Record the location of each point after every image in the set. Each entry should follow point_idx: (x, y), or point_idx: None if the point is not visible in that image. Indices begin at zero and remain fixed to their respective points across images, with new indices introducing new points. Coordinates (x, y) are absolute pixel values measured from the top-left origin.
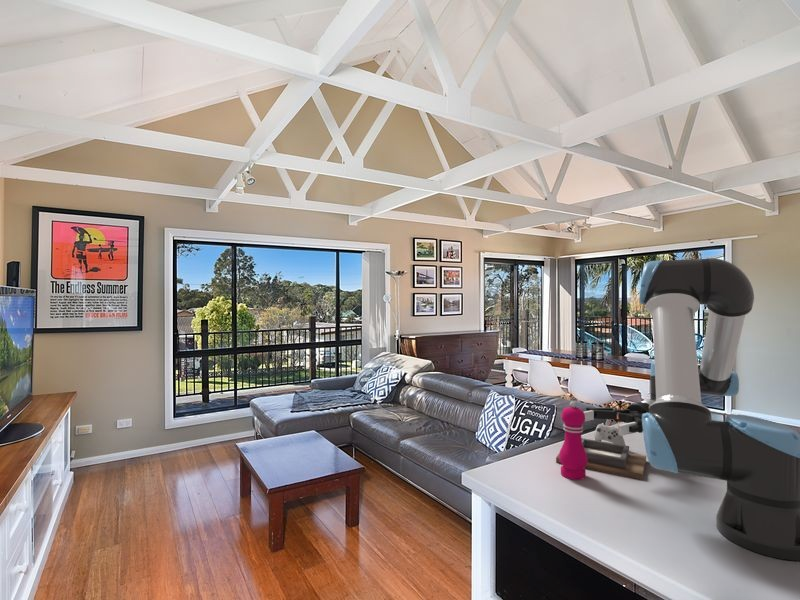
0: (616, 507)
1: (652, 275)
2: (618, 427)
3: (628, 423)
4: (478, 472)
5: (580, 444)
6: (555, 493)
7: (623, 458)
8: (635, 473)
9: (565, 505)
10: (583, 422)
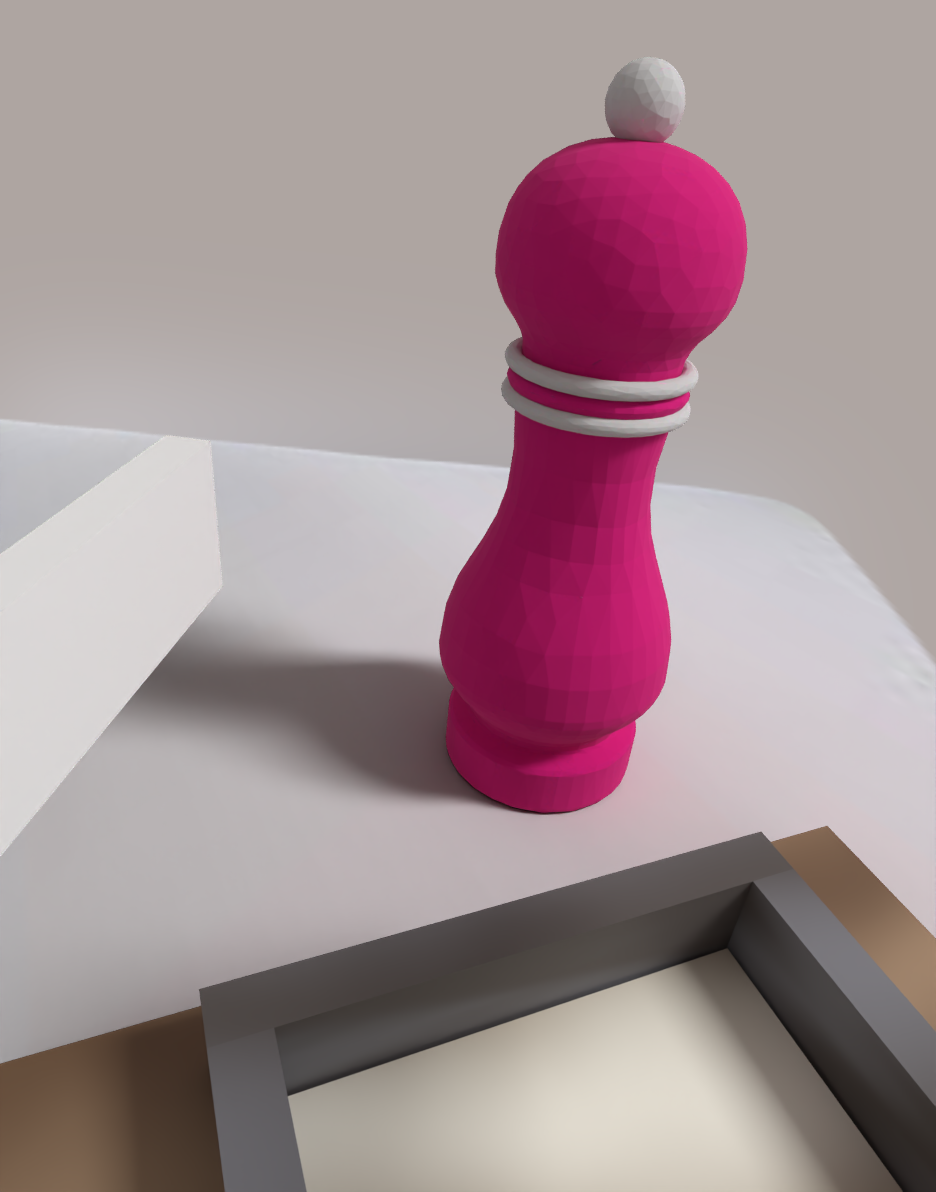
0: None
1: None
2: (211, 478)
3: (57, 538)
4: (799, 526)
5: (499, 507)
6: (437, 552)
7: (227, 1029)
8: (70, 1047)
9: (342, 511)
10: (501, 293)
